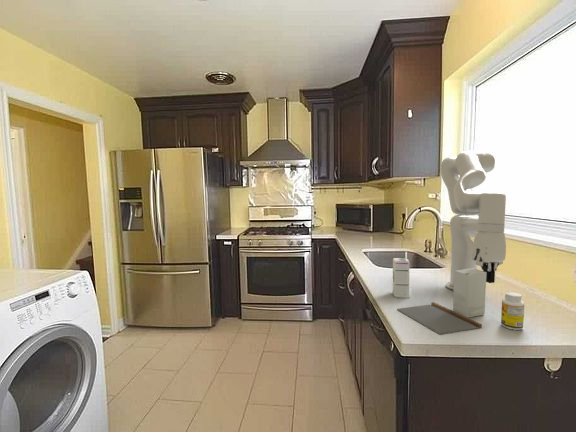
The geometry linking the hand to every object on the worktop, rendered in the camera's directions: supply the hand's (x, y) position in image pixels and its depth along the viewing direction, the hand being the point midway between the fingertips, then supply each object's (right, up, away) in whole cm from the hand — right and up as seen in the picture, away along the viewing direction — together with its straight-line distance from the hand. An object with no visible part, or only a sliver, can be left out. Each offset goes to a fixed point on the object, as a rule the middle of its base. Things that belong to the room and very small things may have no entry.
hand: (488, 281), depth 107 cm
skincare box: (-8, -11, -1) cm, 13 cm away
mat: (-21, -11, -5) cm, 24 cm away
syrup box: (-24, -9, +18) cm, 31 cm away
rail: (-13, -11, -3) cm, 17 cm away
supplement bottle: (0, -12, -12) cm, 16 cm away
